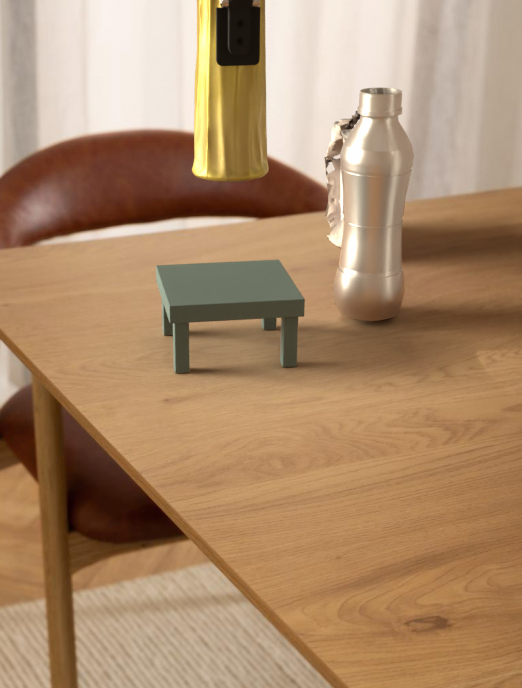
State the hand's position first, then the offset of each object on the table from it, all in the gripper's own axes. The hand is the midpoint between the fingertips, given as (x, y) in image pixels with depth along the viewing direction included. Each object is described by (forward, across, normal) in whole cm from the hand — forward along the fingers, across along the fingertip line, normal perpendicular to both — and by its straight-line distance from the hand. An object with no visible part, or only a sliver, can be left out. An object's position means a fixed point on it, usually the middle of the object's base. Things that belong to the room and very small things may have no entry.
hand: (231, 56), depth 90 cm
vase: (+9, 0, 0) cm, 9 cm away
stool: (+24, +1, 0) cm, 24 cm away
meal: (+24, +30, -18) cm, 42 cm away
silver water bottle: (+24, +7, -14) cm, 29 cm away
